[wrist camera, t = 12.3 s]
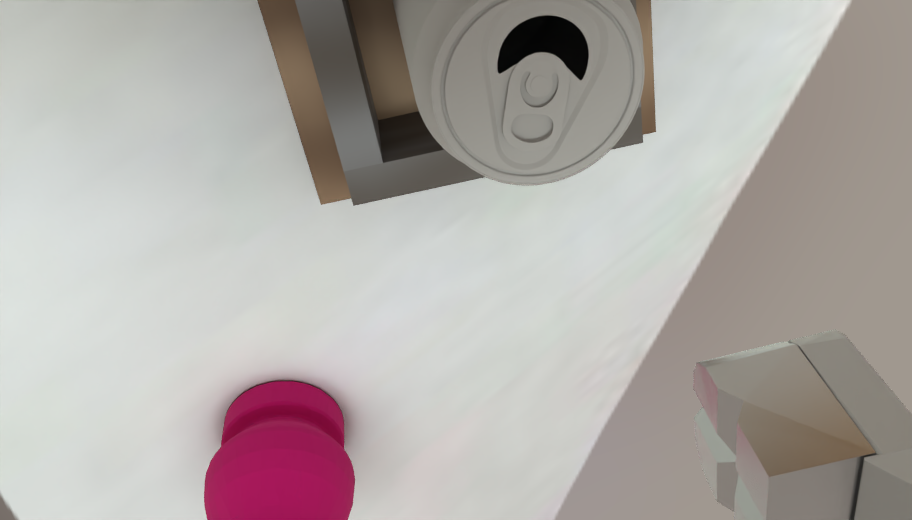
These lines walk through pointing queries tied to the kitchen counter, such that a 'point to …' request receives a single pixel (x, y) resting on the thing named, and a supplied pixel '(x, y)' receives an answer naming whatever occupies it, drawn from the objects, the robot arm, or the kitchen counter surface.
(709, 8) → the kitchen counter surface
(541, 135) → the beverage can
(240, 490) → the pepper mill
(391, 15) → the collar plate
